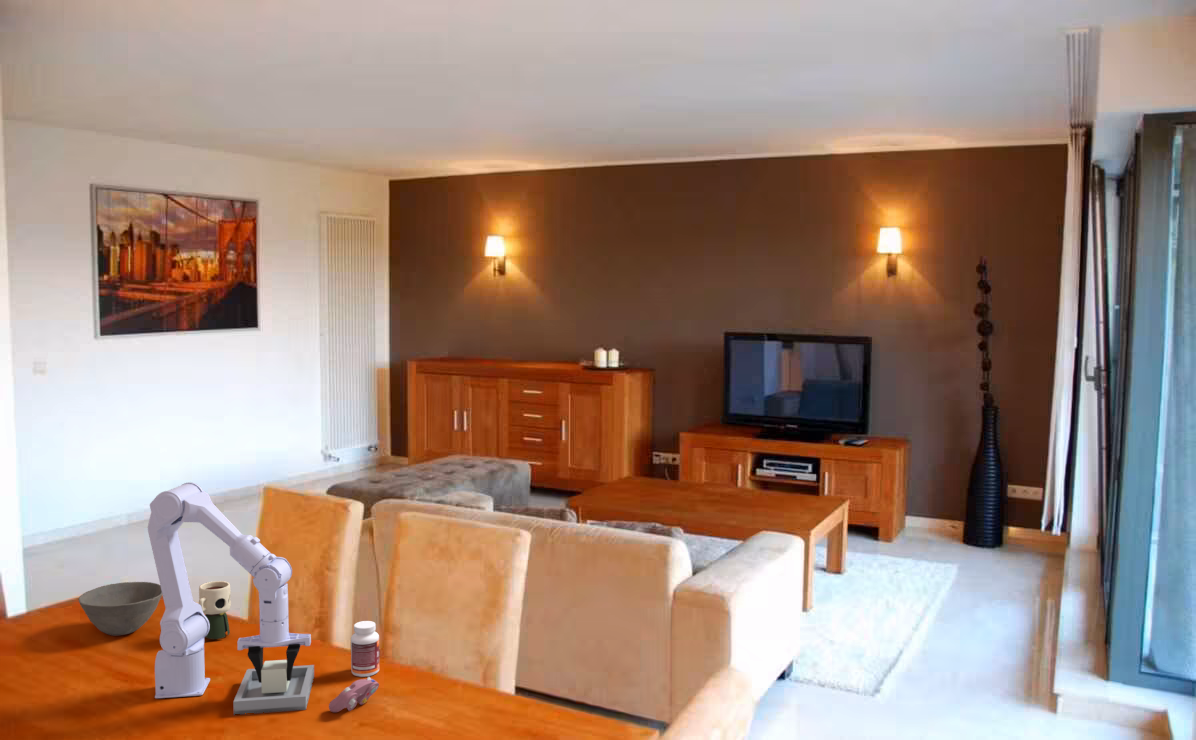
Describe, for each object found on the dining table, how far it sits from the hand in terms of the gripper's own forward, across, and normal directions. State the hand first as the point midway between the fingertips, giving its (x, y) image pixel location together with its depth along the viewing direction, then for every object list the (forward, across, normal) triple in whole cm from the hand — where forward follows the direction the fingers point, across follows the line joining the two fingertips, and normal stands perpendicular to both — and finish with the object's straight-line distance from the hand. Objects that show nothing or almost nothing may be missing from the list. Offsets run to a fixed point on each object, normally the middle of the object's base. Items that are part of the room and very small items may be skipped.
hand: (275, 679), depth 198 cm
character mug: (+4, +19, -36) cm, 41 cm away
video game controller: (+4, -17, +8) cm, 19 cm away
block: (+2, 0, 0) cm, 2 cm away
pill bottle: (+4, -18, -9) cm, 20 cm away
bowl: (+4, +42, -43) cm, 60 cm away
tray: (+3, 0, 0) cm, 3 cm away
